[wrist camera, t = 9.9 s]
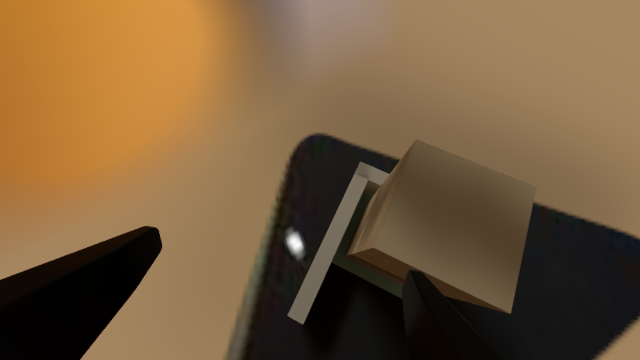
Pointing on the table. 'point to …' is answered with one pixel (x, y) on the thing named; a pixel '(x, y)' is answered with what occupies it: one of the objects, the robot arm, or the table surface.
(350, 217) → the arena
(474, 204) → the maple block
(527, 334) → the table surface
